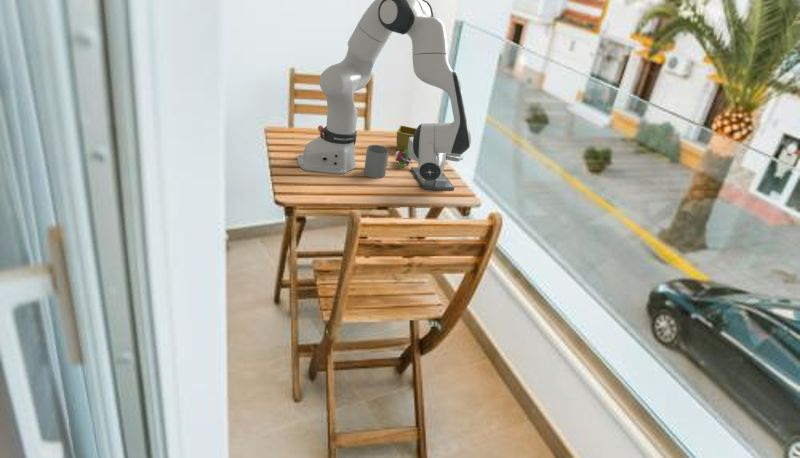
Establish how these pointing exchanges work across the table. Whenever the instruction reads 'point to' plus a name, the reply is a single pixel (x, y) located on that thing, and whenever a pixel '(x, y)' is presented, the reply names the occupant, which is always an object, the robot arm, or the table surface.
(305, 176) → the table surface
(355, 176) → the table surface
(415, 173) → the carrier
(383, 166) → the cup
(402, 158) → the geometric puzzle
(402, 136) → the flower pot
